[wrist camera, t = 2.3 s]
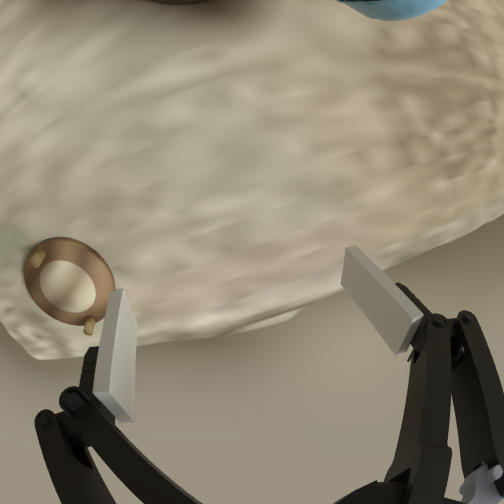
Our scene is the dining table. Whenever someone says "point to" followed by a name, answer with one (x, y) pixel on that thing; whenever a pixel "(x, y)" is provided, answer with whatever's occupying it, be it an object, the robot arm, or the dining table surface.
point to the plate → (69, 281)
